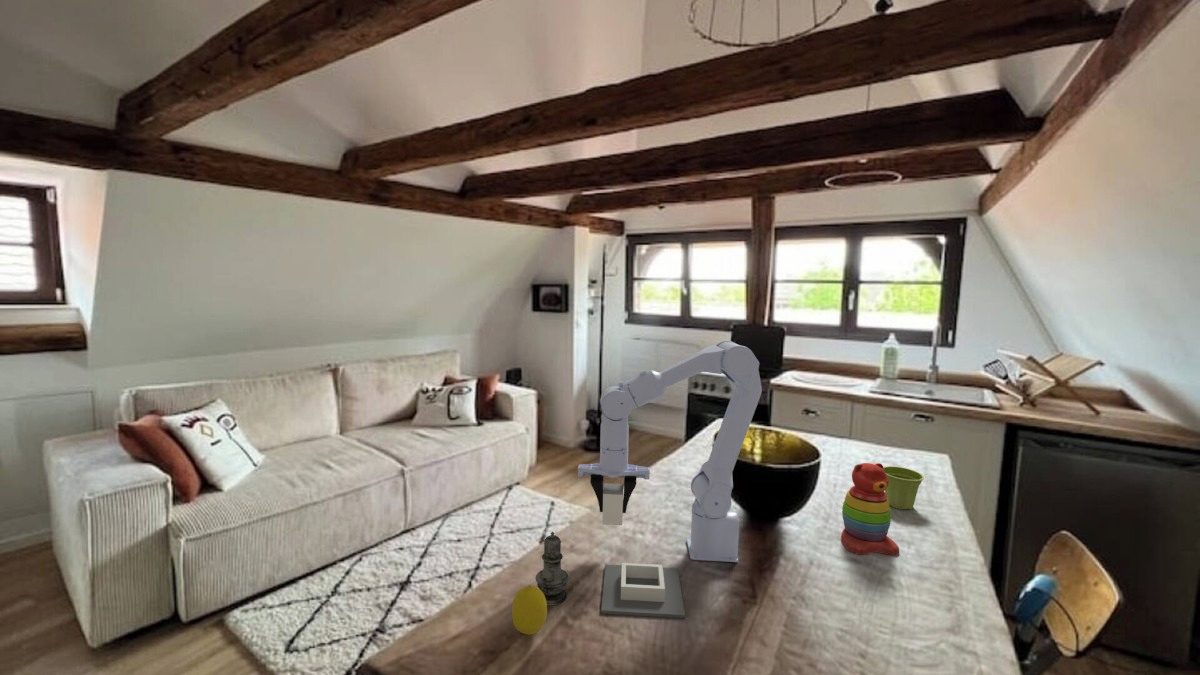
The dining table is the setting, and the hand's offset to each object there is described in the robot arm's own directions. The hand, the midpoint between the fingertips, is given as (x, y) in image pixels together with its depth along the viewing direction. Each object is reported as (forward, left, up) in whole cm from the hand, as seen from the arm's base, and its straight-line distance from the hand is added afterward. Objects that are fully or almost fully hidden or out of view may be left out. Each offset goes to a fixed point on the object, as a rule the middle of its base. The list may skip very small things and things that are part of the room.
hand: (612, 510), depth 104 cm
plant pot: (-73, -30, -9) cm, 79 cm away
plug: (0, 0, -2) cm, 2 cm away
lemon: (+12, +26, -9) cm, 30 cm away
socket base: (-6, +13, -9) cm, 17 cm away
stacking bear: (-55, -9, -9) cm, 56 cm away
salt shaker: (+10, +16, -9) cm, 21 cm away
